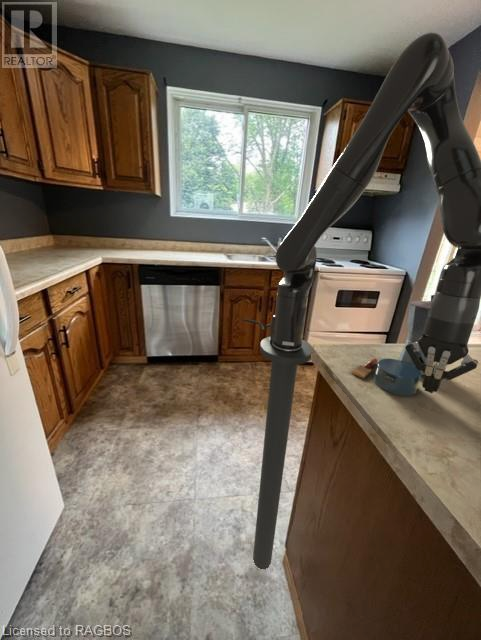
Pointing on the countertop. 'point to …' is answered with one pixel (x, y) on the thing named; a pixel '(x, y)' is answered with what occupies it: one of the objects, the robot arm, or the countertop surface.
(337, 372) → the countertop surface
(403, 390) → the pot
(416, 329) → the moka pot
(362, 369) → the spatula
